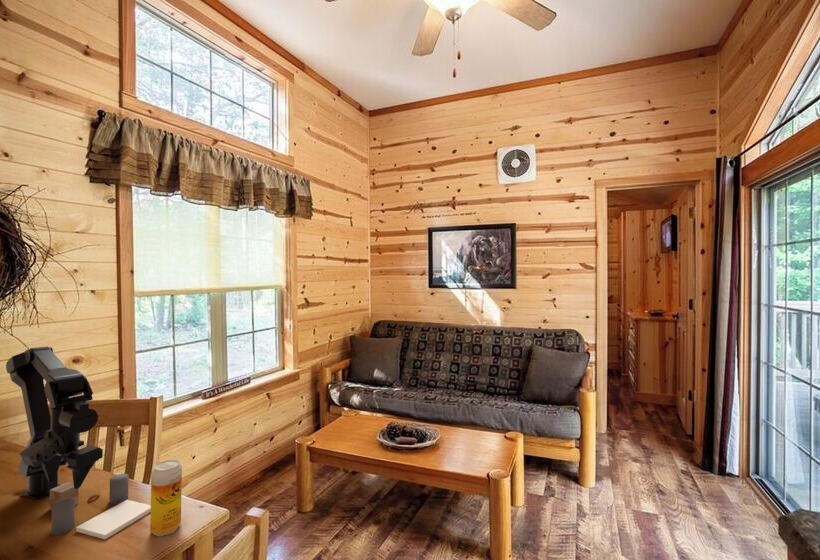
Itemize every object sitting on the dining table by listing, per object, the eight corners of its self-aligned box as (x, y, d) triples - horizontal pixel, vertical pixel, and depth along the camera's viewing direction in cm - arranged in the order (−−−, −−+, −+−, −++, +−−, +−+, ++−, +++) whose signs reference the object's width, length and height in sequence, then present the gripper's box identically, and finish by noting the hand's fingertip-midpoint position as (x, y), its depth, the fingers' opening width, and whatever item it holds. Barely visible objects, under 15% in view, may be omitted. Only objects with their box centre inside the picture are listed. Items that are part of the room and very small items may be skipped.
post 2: (105, 502, 102) (105, 479, 102) (120, 495, 106) (121, 472, 106) (116, 505, 101) (117, 482, 101) (131, 497, 105) (132, 475, 105)
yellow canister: (166, 539, 89) (167, 472, 89) (143, 535, 90) (144, 469, 90) (186, 523, 95) (188, 460, 95) (165, 519, 96) (166, 457, 96)
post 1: (46, 533, 90) (47, 507, 90) (66, 523, 94) (67, 497, 94) (59, 536, 89) (59, 510, 89) (78, 526, 93) (79, 500, 93)
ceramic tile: (76, 531, 91) (76, 527, 91) (127, 503, 102) (127, 499, 102) (105, 539, 88) (105, 535, 88) (153, 509, 100) (153, 505, 100)
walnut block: (49, 509, 99) (49, 489, 99) (67, 501, 103) (67, 482, 103) (60, 512, 98) (61, 492, 98) (78, 504, 102) (78, 484, 102)
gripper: (1, 430, 95) (-1, 495, 95) (55, 441, 90) (53, 509, 90) (54, 415, 106) (52, 473, 106) (105, 424, 101) (103, 485, 101)
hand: (64, 485), depth 101 cm, fingers open, 9 cm apart
